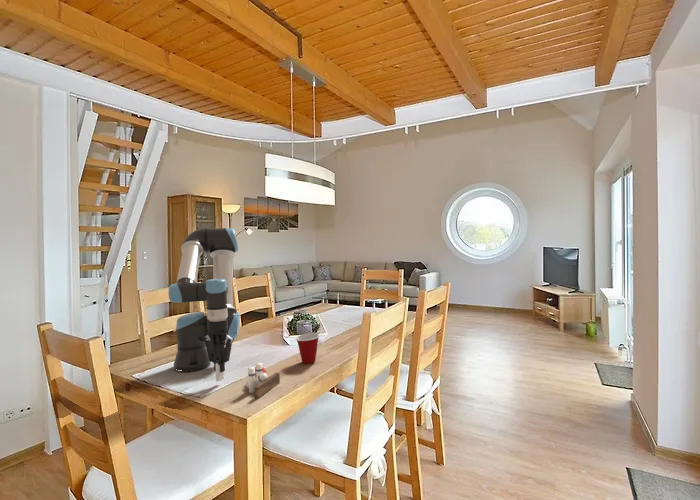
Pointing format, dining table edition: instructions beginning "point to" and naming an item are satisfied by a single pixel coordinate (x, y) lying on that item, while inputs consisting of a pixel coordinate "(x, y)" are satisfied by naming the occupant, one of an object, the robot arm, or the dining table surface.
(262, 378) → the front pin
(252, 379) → the pin
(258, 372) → the pin
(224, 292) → the robot arm
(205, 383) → the dining table surface
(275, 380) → the stopper wall
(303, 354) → the plastic cup
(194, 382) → the dining table surface
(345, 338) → the dining table surface
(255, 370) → the ball
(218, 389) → the dining table surface
